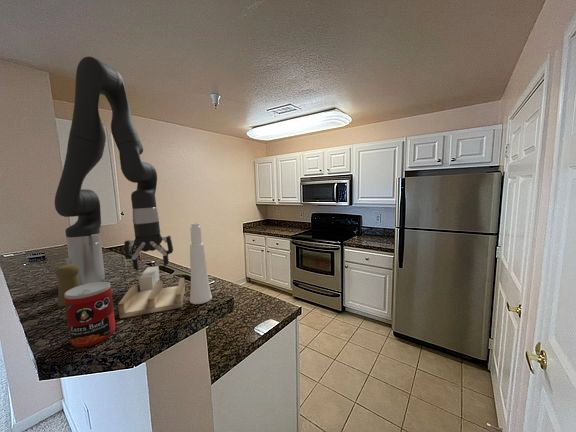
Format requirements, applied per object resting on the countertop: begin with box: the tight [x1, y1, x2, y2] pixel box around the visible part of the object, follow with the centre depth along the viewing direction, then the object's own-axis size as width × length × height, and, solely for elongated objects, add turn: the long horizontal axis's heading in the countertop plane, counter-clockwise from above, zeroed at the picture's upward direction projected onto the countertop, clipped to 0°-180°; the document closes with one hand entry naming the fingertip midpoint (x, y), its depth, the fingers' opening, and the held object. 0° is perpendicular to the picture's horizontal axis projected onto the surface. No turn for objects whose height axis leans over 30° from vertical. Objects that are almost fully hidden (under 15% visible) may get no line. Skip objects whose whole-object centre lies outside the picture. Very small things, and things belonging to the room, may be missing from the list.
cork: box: [54, 264, 81, 307], centre depth 72 cm, size 6×6×11 cm
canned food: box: [64, 281, 116, 348], centre depth 53 cm, size 8×8×11 cm
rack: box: [117, 277, 186, 319], centre depth 70 cm, size 14×14×4 cm
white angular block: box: [138, 265, 160, 292], centre depth 82 cm, size 4×12×5 cm, turn 19°
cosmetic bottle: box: [189, 222, 213, 305], centre depth 69 cm, size 6×6×22 cm
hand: (151, 267), depth 84 cm, fingers open, 8 cm apart
